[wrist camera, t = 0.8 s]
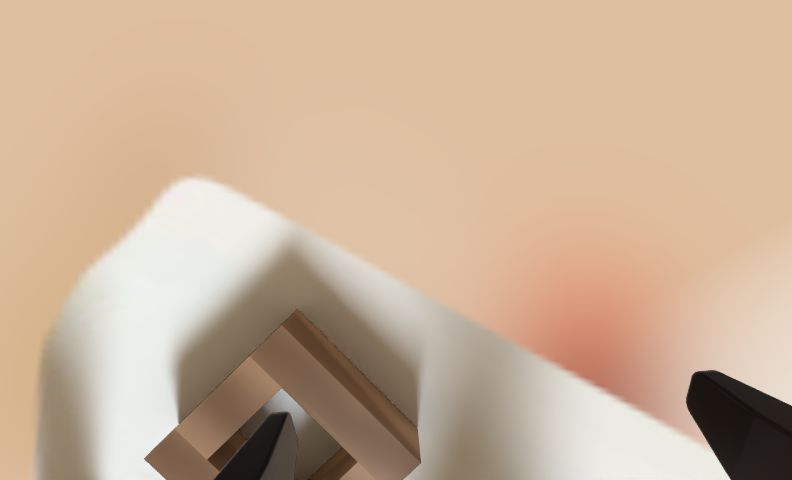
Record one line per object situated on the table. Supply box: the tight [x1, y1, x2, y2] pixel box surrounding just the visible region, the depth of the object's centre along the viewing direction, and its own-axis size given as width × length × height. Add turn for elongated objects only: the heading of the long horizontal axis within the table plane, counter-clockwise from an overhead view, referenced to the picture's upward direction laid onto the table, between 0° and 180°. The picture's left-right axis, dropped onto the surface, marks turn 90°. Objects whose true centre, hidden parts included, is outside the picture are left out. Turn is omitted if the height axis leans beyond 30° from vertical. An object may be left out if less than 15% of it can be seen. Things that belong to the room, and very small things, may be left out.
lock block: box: [144, 309, 421, 480], centre depth 24 cm, size 11×11×4 cm
